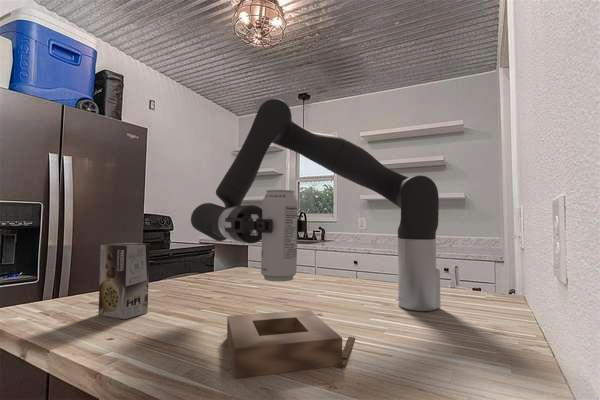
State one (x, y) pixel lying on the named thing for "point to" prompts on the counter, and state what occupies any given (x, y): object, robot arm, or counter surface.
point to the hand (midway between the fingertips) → (287, 226)
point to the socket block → (281, 343)
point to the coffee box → (124, 280)
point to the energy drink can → (280, 236)
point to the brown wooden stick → (346, 352)
